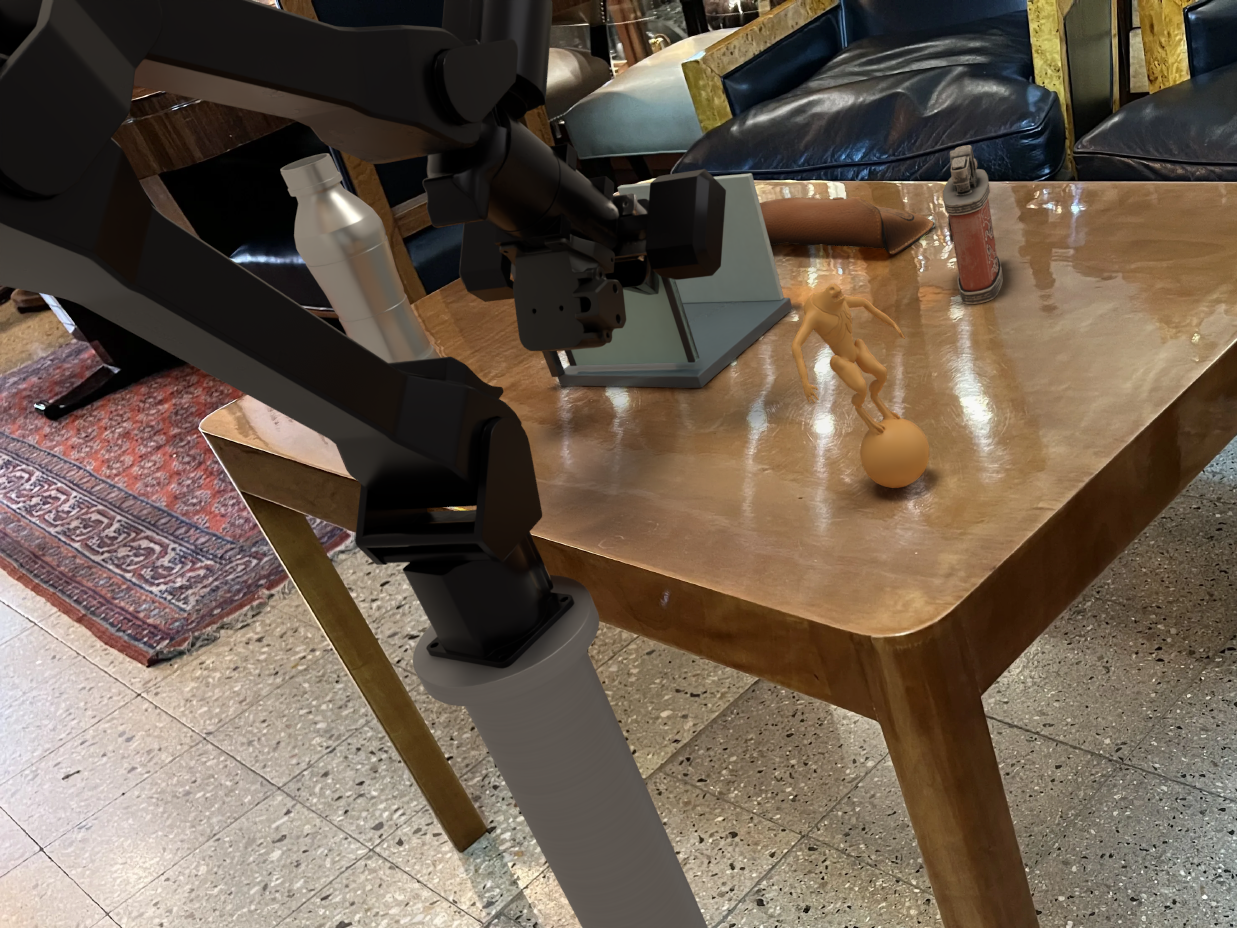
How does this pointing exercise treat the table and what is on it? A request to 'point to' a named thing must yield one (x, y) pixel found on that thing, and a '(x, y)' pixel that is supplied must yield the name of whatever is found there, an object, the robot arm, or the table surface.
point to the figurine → (863, 387)
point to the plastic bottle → (353, 262)
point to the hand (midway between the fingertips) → (654, 288)
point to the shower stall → (707, 302)
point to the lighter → (972, 228)
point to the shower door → (646, 332)
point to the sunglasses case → (841, 223)
